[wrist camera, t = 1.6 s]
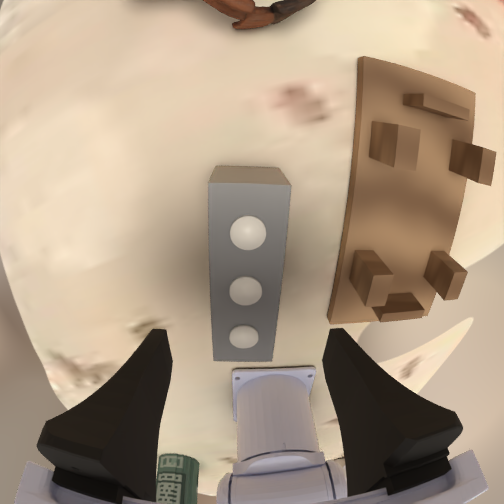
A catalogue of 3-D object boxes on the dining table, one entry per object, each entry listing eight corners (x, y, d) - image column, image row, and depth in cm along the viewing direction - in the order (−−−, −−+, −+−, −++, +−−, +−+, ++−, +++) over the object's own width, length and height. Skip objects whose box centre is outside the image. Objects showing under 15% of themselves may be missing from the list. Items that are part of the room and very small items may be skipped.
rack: (422, 309, 24) (444, 339, 20) (327, 316, 24) (341, 354, 20) (467, 92, 16) (506, 95, 12) (357, 58, 15) (389, 46, 11)
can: (170, 467, 38) (163, 541, 25) (153, 453, 36) (142, 535, 22) (203, 467, 38) (200, 545, 25) (189, 453, 35) (183, 541, 22)
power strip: (266, 316, 24) (272, 364, 19) (217, 316, 24) (213, 364, 19) (278, 167, 19) (292, 186, 14) (216, 165, 18) (207, 184, 14)
